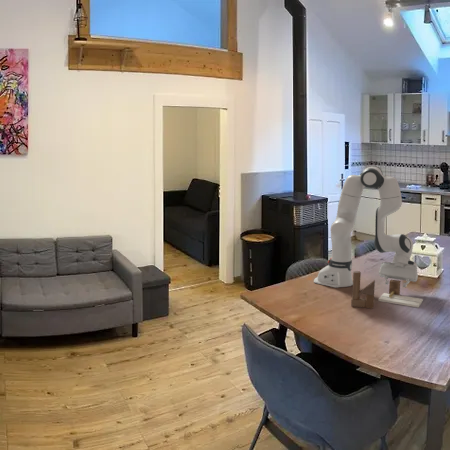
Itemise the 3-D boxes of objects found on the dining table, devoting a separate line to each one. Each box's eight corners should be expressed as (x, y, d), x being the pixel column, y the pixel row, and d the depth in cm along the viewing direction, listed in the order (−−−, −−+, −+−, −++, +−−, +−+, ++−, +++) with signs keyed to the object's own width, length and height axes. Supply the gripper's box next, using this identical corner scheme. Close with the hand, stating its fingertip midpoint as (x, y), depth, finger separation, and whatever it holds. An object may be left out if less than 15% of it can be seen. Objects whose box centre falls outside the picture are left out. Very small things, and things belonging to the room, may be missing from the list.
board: (378, 301, 269) (378, 298, 269) (383, 295, 278) (383, 292, 278) (418, 307, 259) (418, 305, 259) (422, 301, 268) (422, 298, 268)
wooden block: (372, 309, 257) (374, 274, 254) (351, 306, 262) (352, 272, 258) (373, 306, 261) (375, 272, 257) (352, 304, 265) (353, 270, 262)
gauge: (385, 299, 271) (385, 285, 270) (390, 293, 281) (391, 279, 279) (394, 301, 269) (395, 286, 267) (399, 295, 278) (400, 280, 277)
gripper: (380, 258, 288) (375, 279, 282) (419, 263, 277) (414, 285, 271) (382, 264, 292) (377, 285, 286) (420, 269, 282) (415, 291, 276)
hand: (395, 285), depth 279 cm, fingers open, 8 cm apart
